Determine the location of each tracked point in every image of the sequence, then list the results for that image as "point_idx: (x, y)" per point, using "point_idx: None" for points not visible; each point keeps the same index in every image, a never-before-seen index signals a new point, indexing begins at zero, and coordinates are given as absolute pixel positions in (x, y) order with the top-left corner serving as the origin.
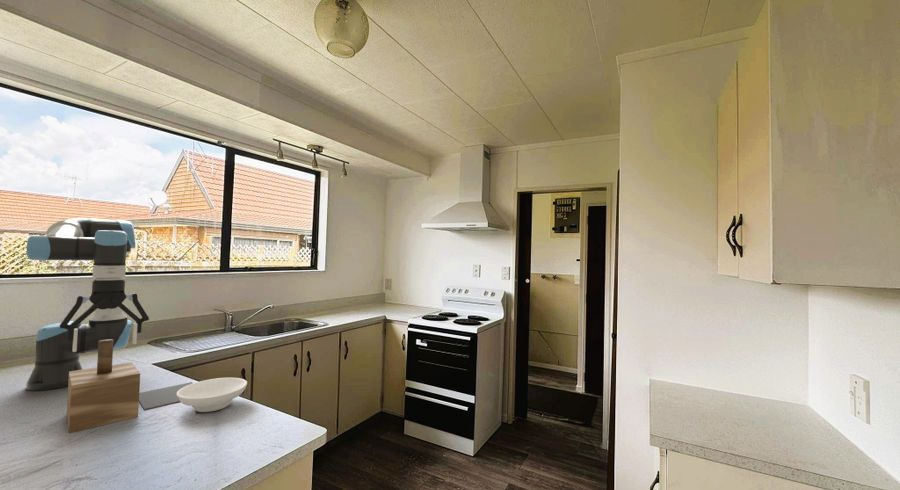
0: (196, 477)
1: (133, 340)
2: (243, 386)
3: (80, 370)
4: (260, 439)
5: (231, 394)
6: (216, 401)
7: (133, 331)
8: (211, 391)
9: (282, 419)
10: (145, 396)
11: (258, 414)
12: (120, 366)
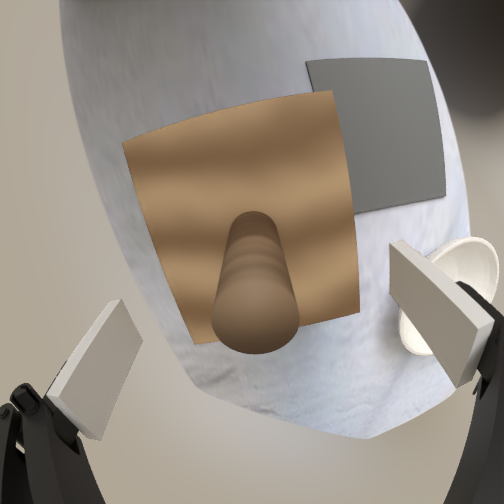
0: (351, 432)
1: (399, 299)
2: None
3: (156, 141)
4: (417, 396)
5: None
6: None
7: (430, 323)
8: (455, 248)
9: None
10: (336, 106)
11: None
12: (299, 155)
